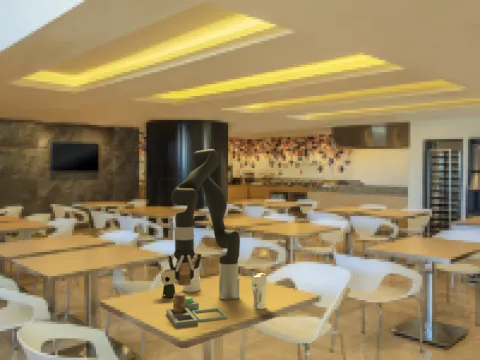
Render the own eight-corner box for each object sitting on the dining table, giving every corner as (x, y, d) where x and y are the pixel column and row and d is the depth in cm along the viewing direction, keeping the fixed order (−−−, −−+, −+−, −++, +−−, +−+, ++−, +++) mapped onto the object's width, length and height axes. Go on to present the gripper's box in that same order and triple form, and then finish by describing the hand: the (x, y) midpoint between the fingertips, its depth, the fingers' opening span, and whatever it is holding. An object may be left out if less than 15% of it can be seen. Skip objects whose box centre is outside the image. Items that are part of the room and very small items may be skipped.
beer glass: (251, 305, 212) (251, 273, 212) (266, 305, 213) (266, 273, 213) (252, 309, 205) (253, 276, 205) (268, 309, 206) (268, 276, 206)
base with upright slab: (203, 289, 240) (203, 266, 240) (191, 292, 234) (191, 269, 233) (192, 286, 246) (192, 264, 246) (179, 289, 239) (179, 266, 239)
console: (193, 307, 209) (193, 298, 209) (198, 312, 202) (198, 303, 202) (176, 308, 207) (176, 300, 206) (181, 314, 199) (181, 305, 199)
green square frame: (218, 312, 202) (218, 307, 202) (227, 320, 191) (227, 315, 191) (191, 315, 198) (191, 310, 198) (199, 324, 187) (199, 319, 186)
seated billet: (183, 313, 197) (183, 292, 197) (186, 317, 192) (186, 295, 192) (172, 314, 195) (172, 293, 195) (174, 318, 190) (174, 296, 190)
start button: (191, 307, 207) (191, 296, 207) (193, 310, 203) (193, 299, 203) (181, 308, 206) (181, 297, 205) (184, 311, 201) (184, 300, 201)
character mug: (156, 296, 227) (156, 270, 226) (166, 293, 233) (166, 267, 232) (171, 299, 220) (171, 273, 220) (182, 296, 226) (182, 270, 226)
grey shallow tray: (166, 316, 196) (166, 309, 196) (186, 313, 200) (186, 307, 199) (176, 330, 180) (176, 322, 179) (198, 327, 183) (198, 319, 183)
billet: (191, 285, 184) (192, 262, 183) (179, 286, 182) (179, 263, 182) (188, 282, 188) (188, 260, 188) (176, 283, 186) (176, 261, 186)
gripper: (199, 235, 191) (198, 276, 191) (164, 237, 185) (164, 278, 186) (204, 238, 184) (203, 280, 184) (168, 240, 178) (168, 283, 179)
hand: (184, 279), depth 185 cm, fingers closed on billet, 5 cm apart
